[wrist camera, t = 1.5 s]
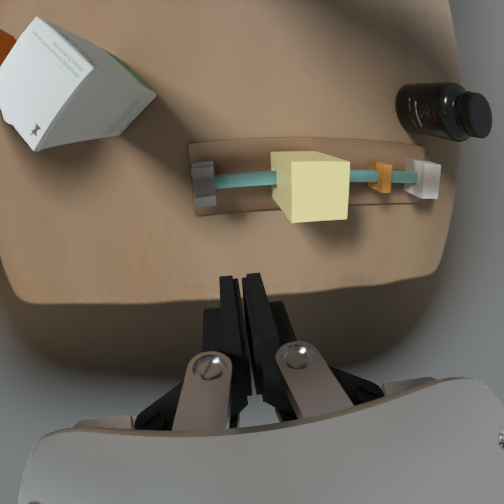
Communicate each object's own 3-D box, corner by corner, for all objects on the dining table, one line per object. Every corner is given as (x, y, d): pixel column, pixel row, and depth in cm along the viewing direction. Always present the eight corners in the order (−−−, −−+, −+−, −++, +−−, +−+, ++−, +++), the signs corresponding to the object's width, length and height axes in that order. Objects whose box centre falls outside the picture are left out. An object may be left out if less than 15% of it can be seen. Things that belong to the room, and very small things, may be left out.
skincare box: (159, 96, 24) (102, 68, 10) (117, 140, 25) (35, 160, 12) (112, 52, 21) (38, 10, 7) (73, 96, 22) (-18, 91, 8)
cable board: (188, 143, 27) (183, 146, 23) (423, 146, 30) (446, 151, 25) (195, 214, 30) (192, 229, 26) (418, 202, 33) (439, 212, 29)
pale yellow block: (270, 151, 28) (291, 161, 20) (315, 151, 28) (350, 161, 20) (271, 196, 30) (291, 223, 22) (314, 194, 30) (346, 219, 23)
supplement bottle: (385, 109, 27) (454, 112, 16) (406, 74, 25) (474, 68, 14) (417, 143, 29) (484, 161, 19) (437, 109, 27) (502, 117, 17)
